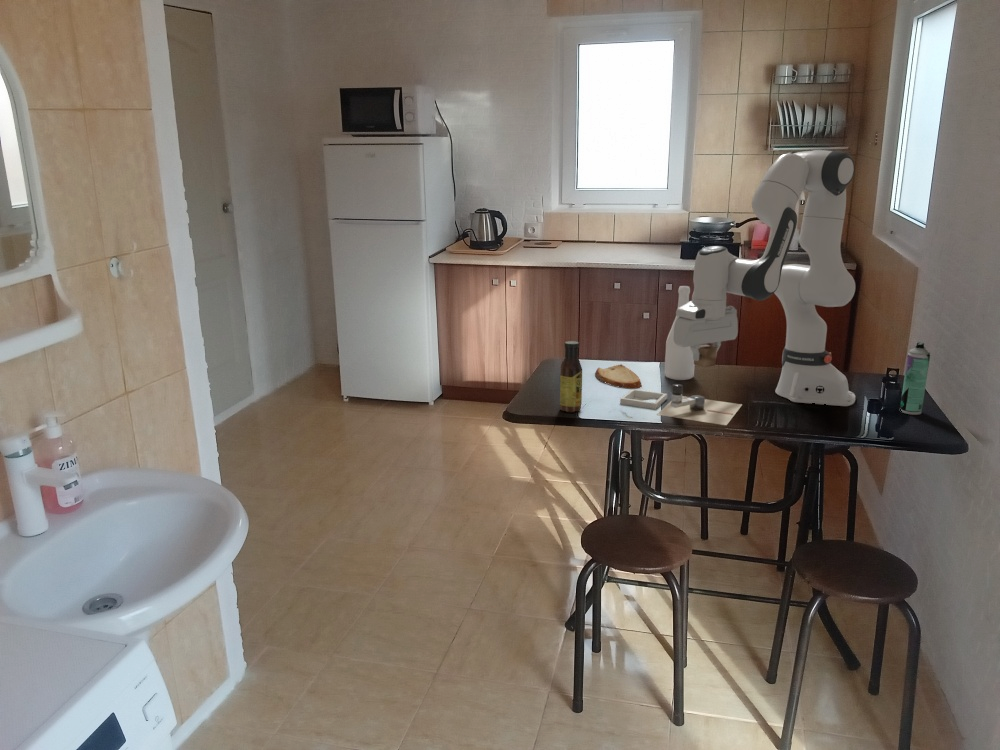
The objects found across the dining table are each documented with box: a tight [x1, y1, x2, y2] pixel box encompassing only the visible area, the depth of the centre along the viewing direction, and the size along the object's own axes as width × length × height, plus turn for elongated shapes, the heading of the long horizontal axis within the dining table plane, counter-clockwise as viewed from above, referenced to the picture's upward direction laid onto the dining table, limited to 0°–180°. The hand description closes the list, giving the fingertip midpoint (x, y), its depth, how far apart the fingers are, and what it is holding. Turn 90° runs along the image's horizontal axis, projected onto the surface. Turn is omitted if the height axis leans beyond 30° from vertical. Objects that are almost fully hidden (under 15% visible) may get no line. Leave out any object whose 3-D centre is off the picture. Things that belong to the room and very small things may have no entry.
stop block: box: [694, 344, 717, 368], centre depth 205 cm, size 4×4×5 cm
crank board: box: [656, 395, 743, 426], centre depth 214 cm, size 19×20×2 cm
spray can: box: [899, 342, 931, 416], centre depth 213 cm, size 6×6×20 cm
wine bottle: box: [663, 285, 696, 381], centre depth 247 cm, size 10×10×30 cm
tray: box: [619, 388, 668, 410], centre depth 222 cm, size 11×11×3 cm
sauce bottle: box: [559, 340, 583, 413], centre depth 217 cm, size 7×6×20 cm
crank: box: [670, 383, 706, 410], centre depth 212 cm, size 11×4×8 cm, turn 121°
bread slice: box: [594, 364, 643, 389], centre depth 249 cm, size 18×18×4 cm
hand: (704, 358), depth 206 cm, fingers closed on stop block, 4 cm apart
